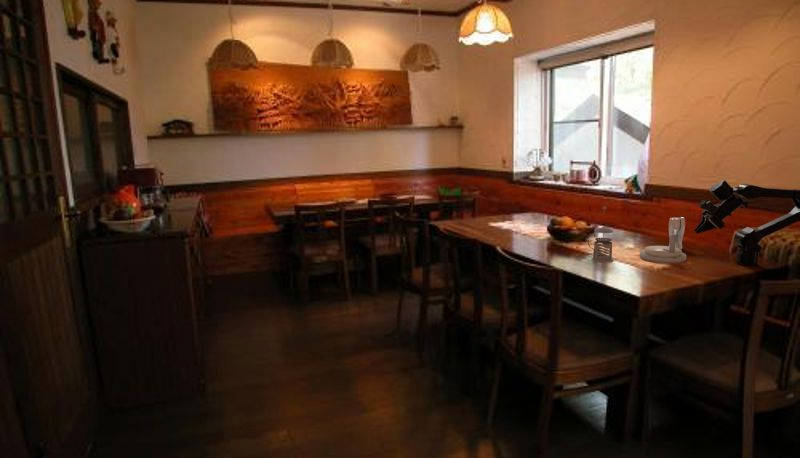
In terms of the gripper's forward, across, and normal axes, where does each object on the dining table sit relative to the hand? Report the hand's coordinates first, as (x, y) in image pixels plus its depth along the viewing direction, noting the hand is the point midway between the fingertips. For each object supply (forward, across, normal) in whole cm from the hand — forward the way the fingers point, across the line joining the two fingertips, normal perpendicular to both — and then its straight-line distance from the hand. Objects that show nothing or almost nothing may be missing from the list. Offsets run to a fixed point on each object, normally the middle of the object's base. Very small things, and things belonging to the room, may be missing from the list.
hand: (695, 232), depth 213 cm
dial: (+16, -5, 0) cm, 17 cm away
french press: (+37, +4, -17) cm, 41 cm away
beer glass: (+12, -28, +8) cm, 32 cm away
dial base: (+18, -5, +2) cm, 19 cm away
